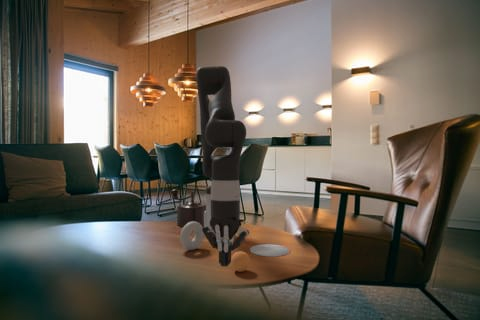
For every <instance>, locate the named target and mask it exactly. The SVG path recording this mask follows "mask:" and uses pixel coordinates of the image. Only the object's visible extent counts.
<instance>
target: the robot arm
mask: <svg viewBox="0 0 480 320" xmlns="http://www.w3.org/2000/svg"><path fill="white" fill-rule="evenodd" d="M195 80H196V88H197V96H198V103H199V114H200V115H199V117H200V121H199V122H200V137H201V144H202V145H201V146H202V174H203V175H204V177H205V178H211V185H208V186H206V188H205V206H206V211H204V225H203V228H202V231H203V233H204V237H205V238H206V240H207V241H208V243H209V244H210V246H211V247H212V248H213V249H217V251H218V263H219V265H220V267H226V268H227V267H228V266H230V264H231V258H232V251H235V250H236V249H238V248H239V247H240V246H241V245H242V243H243V242H244V241H245V240H246V238H247V236H248V235H250V230H248V229H245V228H244V227H243V226H242V222H241V219H240V216H241V188H240V187H241V186H240V162H241V156H242V151H243V148H244V145H245V141H246V138H247V127H246V126H245V124H244V123H243V122H242V121H241V120H236V116H235V115H236V114H235V111H234V107H233V104H232V82H231V75H230V71H229V69H228V68H227V67H226V66H222V65H221V66H219V65H217V66H213V65H211V66H201V67H198V68H197V70H196V79H195ZM209 96H212V97H211V98H210V97H209ZM218 148H230V149H231V150H230V152H229V153H228V154H226V155H221V156H219V155H218V156H217V155H216V156H214V155H213V153H214V152H215V151H216V150H217V149H218ZM236 234H237V238H236V239H234V238H235V236H236Z"/></svg>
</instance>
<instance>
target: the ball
mask: <svg viewBox="0 0 480 320" xmlns="http://www.w3.org/2000/svg"><path fill="white" fill-rule="evenodd" d="M230 264H231V268H232V269H234V270H235V271H236V272H239V273H242V272H245V271H247V269H248V268H249V267H250V264H251V258H250V256H249V255H248V253H246V252H244V251H243V250H241V251H236V252H235V253H234V254H232V255H231V263H230Z"/></svg>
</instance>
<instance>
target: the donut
mask: <svg viewBox="0 0 480 320" xmlns="http://www.w3.org/2000/svg"><path fill="white" fill-rule="evenodd" d="M202 228H204V226H202V225H201V224H200V223H198V222H194V221H192V222H189V223H187V224H186V225H185V226H184V227H182V229H181V231H180V235H179V241H180V243H181V246H182V247H183V248H184V249H185V250H187V251H194V250H195V249H198V248H199V247H200V246H201V244H202V243H203V241H204V239H205V238H204V237H205V235H204V233H203V231H202ZM193 232H194V235H193V236H194V237H193V238H192V239H191V234H192V233H193Z"/></svg>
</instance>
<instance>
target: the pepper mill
mask: <svg viewBox="0 0 480 320" xmlns="http://www.w3.org/2000/svg"><path fill="white" fill-rule="evenodd" d="M194 192H195V191H193V190H191V192H190V195H188V196H186V197H183V198H179V196H178V195H179V189H176V188H174V189H171V190H170V193H169V194H170V195H171V196H172V199H171V200H176V201H185V200H186V201H185V202H186V203H184V204H182V205H179V206H178V205H177V214H176V215H177V217H176V218H177V224H176V225H177V226H179V227H182V228H183V227H184V226H185V225H186V224H187V223H189V222H192V221H194V222H198V223H200V224H201V225H202V227H204V211H206V205H204V204H199V203H198V202H195V201H194ZM190 198H191V199H190ZM189 199H190V201H188V200H189Z"/></svg>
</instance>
